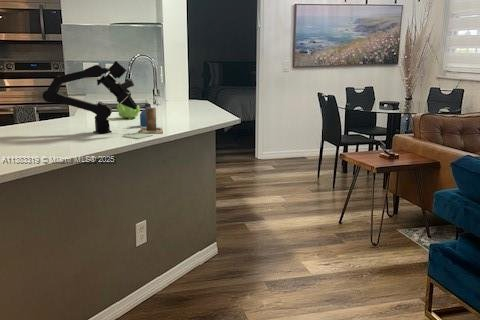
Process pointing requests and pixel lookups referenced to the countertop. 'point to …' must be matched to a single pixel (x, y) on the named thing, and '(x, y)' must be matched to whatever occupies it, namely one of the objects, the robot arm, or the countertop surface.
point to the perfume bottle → (144, 115)
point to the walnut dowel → (150, 119)
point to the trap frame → (151, 131)
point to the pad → (137, 135)
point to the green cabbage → (127, 111)
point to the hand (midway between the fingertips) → (136, 107)
